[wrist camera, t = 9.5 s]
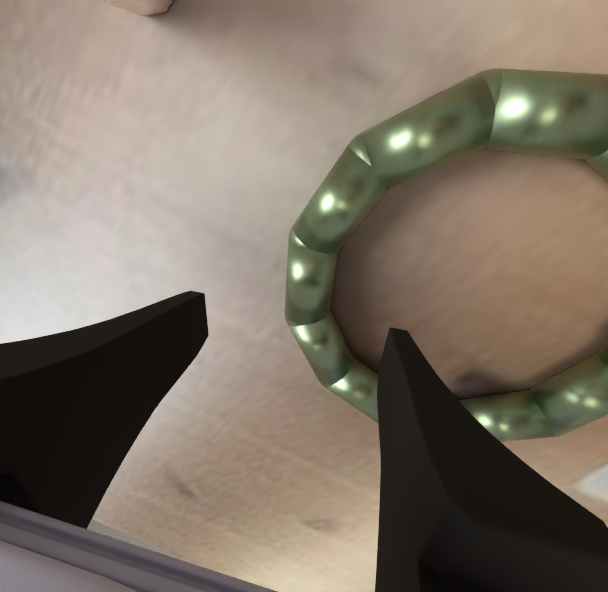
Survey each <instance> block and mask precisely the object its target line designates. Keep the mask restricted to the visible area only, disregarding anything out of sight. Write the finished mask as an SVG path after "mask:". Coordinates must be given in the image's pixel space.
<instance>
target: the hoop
mask: <svg viewBox="0 0 608 592" xmlns="http://www.w3.org/2000/svg"><path fill="white" fill-rule="evenodd" d="M482 149H484V150H495V151H506V152H517V153H527V154H538V155H549V156H560V157H571V158H581V159H583V160H584V161H586V162H587V163H588V164H589V165H590V166H591V167H592V168H593V169H594V170H595V171H596V172H598V173H599V174H600V175H601V176H602V177H603V178H604V179H605V180H606V181H607V182H608V75H605V74H587V73H569V72H551V71H533V70H515V69H490V70H486V71H482V72H480V73H478V74H476V75H474V76H472V77H470V78H468V79H466V80H464V81H462V82H460V83H458V84H456V85H454V86H452V87H450V88H448V89H446V90H444V91H442V92H440V93H438V94H436V95H435V96H433V97H431V98H429V99H427V100H425V101H423V102H421V103H419V104H417V105H415V106H413V107H411V108H409V109H407V110H405V111H403V112H401V113H399V114H397V115H395V116H394V117H392V118H390V119H388V120H386V121H384V122H382V123H380V124H378V125H376V126H374V127H372V128H370V129H368V130H366V131H364V132H362V133H361V134H359V135H357V136H356V137H355V138H354V139H353V140H352V141H351V142H350V143H349V144H348V146H347V147H346V149H345V150H344V152H343V153H342V155H341V156H340V158H339V159H338V161H337V162H336V163H335V165H334V166H333V168H332V169H331V171H330V172H329V174H328V175H327V177H326V178H325V180H324V181H323V182H322V184H321V185H320V187H319V188H318V190H317V191H316V193H315V194H314V196H313V197H312V199H311V200H310V201H309V203H308V204H307V206H306V207H305V209H304V210H303V212H302V213H301V215H300V216H299V218H298V219H297V220H296V222H295V223H294V225H293V227H292V228H291V230H290V233H289V241H288V260H287V279H286V298H285V319H286V322H287V324H288V326H289V327H290V329H291V331H292V333H293V335H294V337H295V338H296V340H297V342H298V344H299V346H300V347H301V349H302V351H303V353H304V355H305V357H306V358H307V360H308V362H309V364H310V366H311V367H312V369H313V371H314V373H315V375H316V376H317V378H318V380H319V382H320V383H321V384H322V385H323V386H324V387H325V388H327V389H328V390H330V391H331V392H333V393H334V394H336V395H337V396H339V397H340V398H342V399H343V400H345V401H346V402H348V403H349V404H351V405H352V406H353V407H355V408H356V409H358V410H359V411H361V412H362V413H364V414H365V415H367V416H368V417H370V418H371V419H373V420H374V421H376V422H377V423H379V421H378V406H377V382H378V374H377V373H375V372H374V371H372V370H371V369H370V368H368V367H367V366H365V365H364V364H362V363H361V362H360V361H358V360H357V359H355V358H354V357H353V356H352V355H351V353H350V351H349V349H348V347H347V345H346V343H345V340H344V338H343V336H342V334H341V332H340V330H339V328H338V326H337V324H336V322H335V320H334V317H333V315H332V313H331V311H330V304H331V297H332V290H333V282H334V275H335V268H336V261H337V254H338V250H339V249H340V248H341V247H342V245H343V244H344V243H345V242H346V240H347V239H348V238H349V237H350V236H351V234H352V233H353V232H354V231H355V230H356V228H357V227H358V226H359V225H360V223H361V222H362V221H363V220H364V219H365V217H366V216H367V215H368V214H369V213H370V211H371V210H372V209H373V208H374V206H375V205H376V204H377V203H378V202H379V200H380V199H381V198H382V197H383V196H384V194H385V193H386V192H387V191H388V189H390V188H392V187H395V186H397V185H399V184H402V183H404V182H406V181H409V180H411V179H413V178H416V177H418V176H420V175H423V174H425V173H427V172H430V171H432V170H435V169H437V168H439V167H442V166H444V165H446V164H449V163H451V162H453V161H456V160H458V159H460V158H463V157H465V156H468V155H470V154H472V153H475V152H477V151H479V150H482ZM458 401H459V402H460V403H461V404H462V405H463V406H464V407H465V408H466V409H467V410H468V411H469V412H470V413H471V414H472V415H473V417H474V418H475V419H476V420H477V421H478V422H479V423H481V424H482V425H483V426H484V427H485V428H486V429H487V430H488V431H489V432H490V433H491V434H492V435H493V436H494V437H496V438H497V439H498V440H499V441H500V442H504V441H514V440H525V439H536V438H546V437H555V436H560V435H563V434H565V433H567V432H569V431H572V430H574V429H576V428H579V427H581V426H583V425H585V424H588V423H590V422H592V421H594V420H597V419H599V418H601V417H604V416H606V415H608V339H607V341H606V342H605V344H604V345H603V346H602V348H601V349H600V350H599V352H598V353H596V354H594V355H592V356H590V357H589V358H587V359H585V360H583V361H581V362H579V363H578V364H576V365H574V366H572V367H570V368H568V369H567V370H565V371H563V372H561V373H559V374H557V375H556V376H554V377H552V378H550V379H548V380H546V381H545V382H543V383H541V384H539V385H537V386H536V387H534V388H532V389H530V390H525V391H519V392H512V393H505V394H498V395H491V396H485V397H478V398H471V399H464V400H458Z"/></svg>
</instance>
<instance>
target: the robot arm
mask: <svg viewBox="0 0 608 592" xmlns="http://www.w3.org/2000/svg"><path fill="white" fill-rule="evenodd" d="M207 337H208V325H207V315H206V305H205V294H204V293H199V292H194V291H188V292H184V293H181V294H178V295H176V296H173V297H170V298H167V299H165V300H162V301H160V302H157V303H154V304H152V305H149V306H147V307H144V308H141V309H139V310H136V311H133V312H130V313H127V314H124V315H121V316H119V317H116V318H113V319H110V320H107V321H103V322H100V323H97V324H93V325H90V326H86V327H82V328H79V329H75V330H71V331H66V332H62V333H57V334H52V335H48V336H43V337H38V338H33V339H28V340H22V341H16V342H10V343H3V344H0V592H277V591H274V590H271V589H268V588H265V587H262V586H258V585H255V584H252V583H249V582H246V581H243V580H240V579H237V578H234V577H231V576H228V575H225V574H222V573H219V572H216V571H213V570H210V569H206V568H203V567H200V566H197V565H194V564H191V563H188V562H185V561H182V560H179V559H176V558H173V557H170V556H167V555H164V554H160V553H158V552H154V551H151V550H148V549H145V548H142V547H139V546H136V545H133V544H130V543H127V542H124V541H121V540H118V539H115V538H112V537H108V536H106V535H102V534H99V533H96V532H93V531H90V530H87V527H88V525H89V523H90V521H91V519H92V517H93V515H94V513H95V511H96V509H97V507H98V506H99V504H100V502H101V500H102V498H103V496H104V494H105V492H106V490H107V488H108V486H109V485H110V483H111V481H112V479H113V478H114V476H115V474H116V472H117V470H118V469H119V467H120V465H121V463H122V461H123V460H124V458H125V456H126V455H127V453H128V451H129V450H130V448H131V446H132V445H133V443H134V441H135V440H136V438H137V436H138V435H139V433H140V431H141V430H142V428H143V427H144V425H145V424H146V422H147V421H148V419H149V417H150V416H151V414H152V413H153V411H154V410H155V408H156V407H157V406H158V404H159V403H160V402H161V400H162V399H163V398H164V396H165V395H166V394H167V393H168V391H169V390H170V389H171V388H172V386H173V385H174V384H175V383H176V381H177V380H178V379H179V378H180V376H181V375H182V374H183V373H184V371H185V370H186V369H187V368H188V366H189V365H190V364H191V362H192V361H193V360H194V359H195V357H196V356H197V354H198V353H199V351H200V349H201V348H202V346H203V344H204V342H205V341H206V339H207ZM377 406H378V421H379V436H380V451H381V483H380V510H379V533H378V551H377V570H376V585H375V592H608V528H607V526H606V525H605V523H604V521H602V520H601V519H599V518H598V517H597V516H595V515H594V514H592V513H591V512H590V511H588V510H587V509H586V508H584V507H583V506H581V505H580V504H579V503H577V502H576V501H574V500H573V499H572V498H570V497H569V496H568V495H566V494H565V493H563V492H562V491H561V490H559V489H558V488H556V487H555V486H554V485H552V484H551V483H550V482H548V481H547V480H546V479H544V478H543V477H542V476H541V475H539V474H538V473H537V472H536V471H534V470H533V469H532V468H531V467H529V466H528V465H527V464H526V463H524V462H523V461H522V460H521V459H520V458H518V457H517V456H516V455H515V454H514V453H512V452H511V451H510V450H509V449H508V448H507V447H505V446H504V445H503V444H502V443H501V442H500V441H499V440H498V439H497V438H496V437H494V436H493V435H492V434H491V433H490V432H489V431H488V430H487V429H486V428H485V427H484V426H483V425H482V424H481V423H479V422H478V421H477V420H476V419H475V418H474V417H473V415H472V414H471V413H470V412H469V411H468V410H467V409H466V408H465V407H464V406H463V405H462V404H461V403H460V402H459V401H458V400H457V398H456V397H455V396H454V395H453V394H452V393H451V391H450V390H449V389H448V388H447V387H446V385H445V384H444V383H443V382H442V380H441V379H440V378H439V377H438V375H437V374H436V373H435V371H434V370H433V368H432V367H431V366H430V364H429V363H428V361H427V360H426V359H425V357H424V356H423V354H422V353H421V351H420V350H419V348H418V346H417V345H416V343H415V342H414V340H413V339H412V337H411V336H410V334H409V333H408V331H406V330H401V329H396V328H389V332H388V336H387V340H386V343H385V347H384V351H383V354H382V358H381V362H380V366H379V369H378V382H377Z"/></svg>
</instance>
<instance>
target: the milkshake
mask: <svg viewBox="0 0 608 592" xmlns="http://www.w3.org/2000/svg"><path fill="white" fill-rule="evenodd" d="M99 1H101V2H104V3H107V4H110V5H113V6H116V7H119V8H122V9H124V10H127V11H130V12H133V13H136V14H139V15H142V16H147V15H152V14H158V13H163V12H166V11H167V9H168V8H169V6H170V4H171V3H172V1H173V0H99Z"/></svg>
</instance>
